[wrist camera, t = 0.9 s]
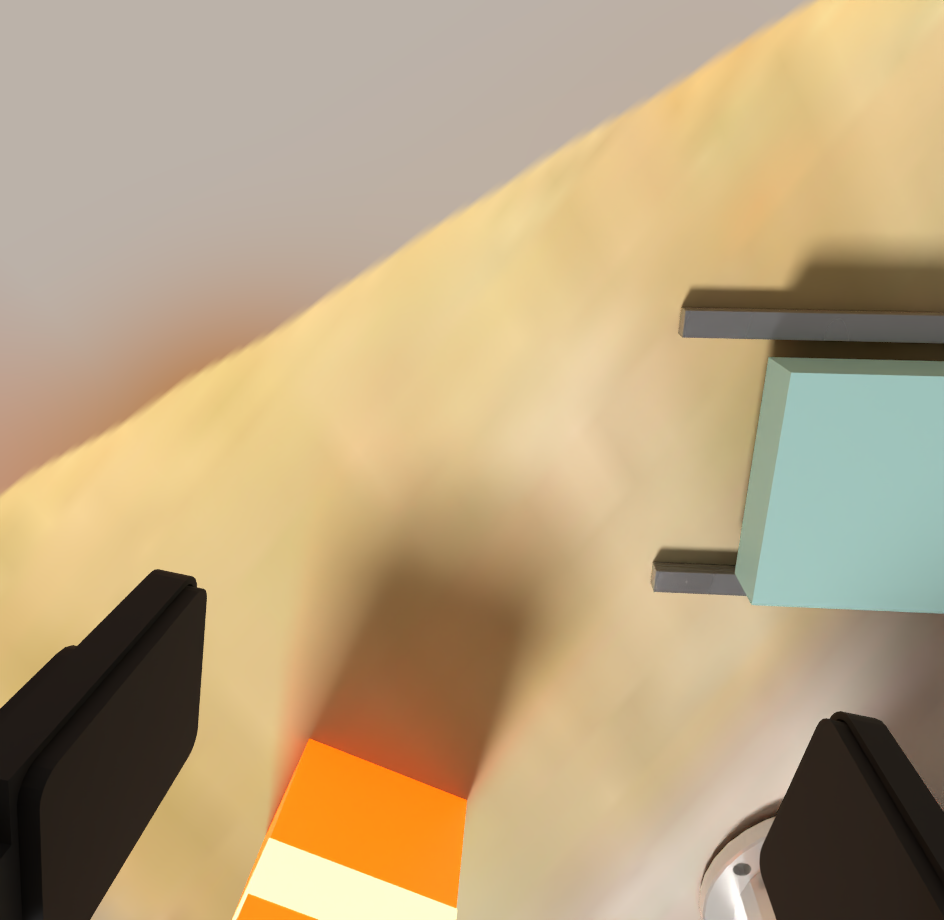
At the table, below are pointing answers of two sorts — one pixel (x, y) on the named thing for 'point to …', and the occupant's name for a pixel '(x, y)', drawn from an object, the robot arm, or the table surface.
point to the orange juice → (357, 846)
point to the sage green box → (847, 487)
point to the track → (784, 328)
